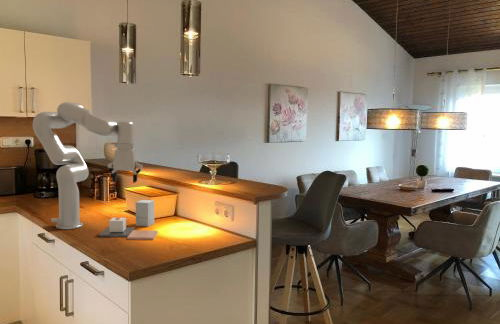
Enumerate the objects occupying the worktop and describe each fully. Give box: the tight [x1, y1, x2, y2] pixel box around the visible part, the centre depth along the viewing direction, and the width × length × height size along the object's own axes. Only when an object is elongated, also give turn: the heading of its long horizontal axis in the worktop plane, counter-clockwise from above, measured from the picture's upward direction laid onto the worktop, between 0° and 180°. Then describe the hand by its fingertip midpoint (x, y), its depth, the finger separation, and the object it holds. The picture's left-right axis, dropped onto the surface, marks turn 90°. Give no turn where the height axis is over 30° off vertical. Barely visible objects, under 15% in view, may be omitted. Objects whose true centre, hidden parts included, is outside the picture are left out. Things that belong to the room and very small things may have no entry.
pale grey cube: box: [108, 217, 127, 232], centre depth 203 cm, size 6×6×6 cm
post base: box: [98, 226, 136, 238], centre depth 203 cm, size 14×14×5 cm
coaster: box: [126, 230, 158, 241], centre depth 199 cm, size 12×12×1 cm
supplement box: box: [135, 199, 155, 227], centre depth 220 cm, size 7×7×13 cm
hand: (124, 181), depth 203 cm, fingers open, 9 cm apart
